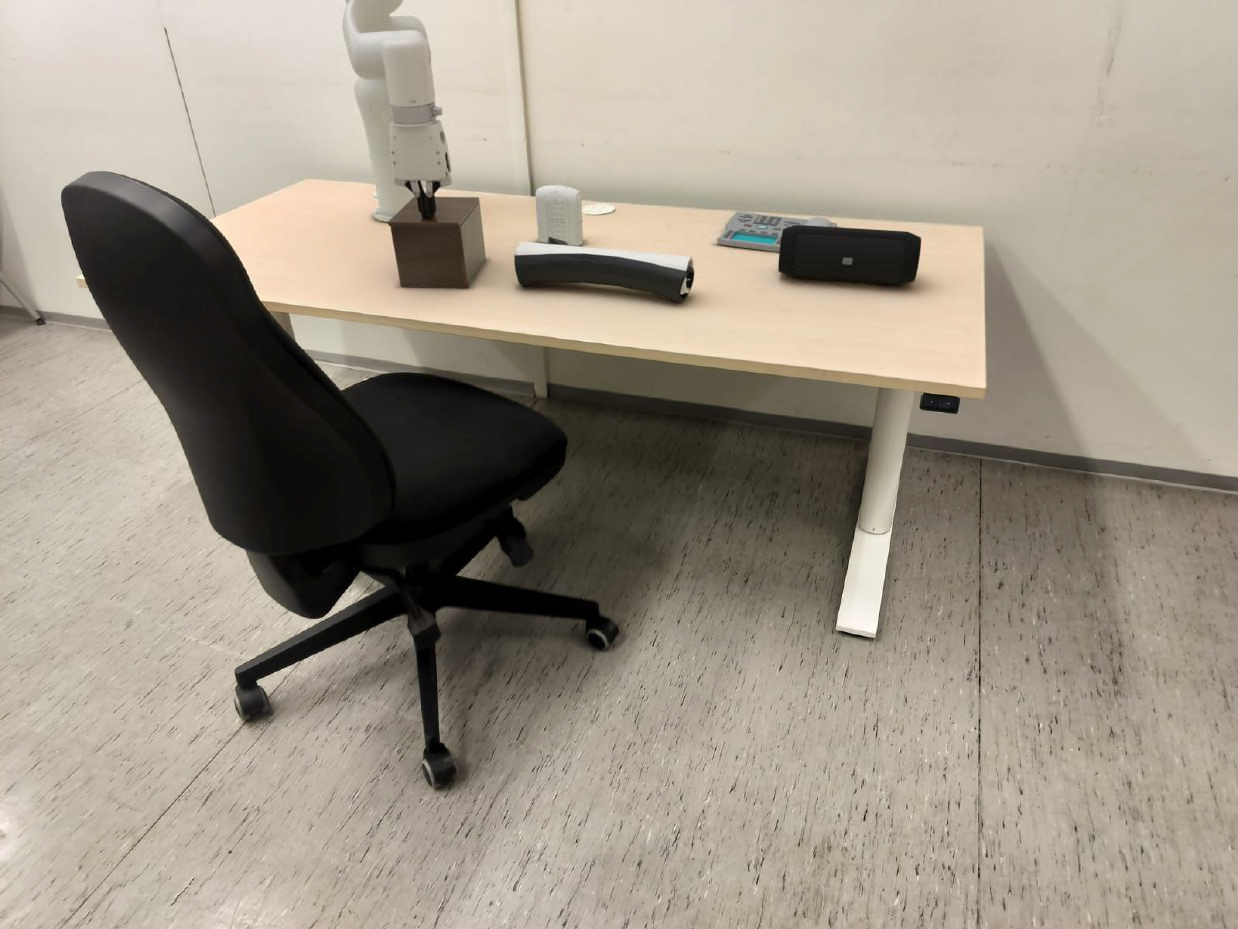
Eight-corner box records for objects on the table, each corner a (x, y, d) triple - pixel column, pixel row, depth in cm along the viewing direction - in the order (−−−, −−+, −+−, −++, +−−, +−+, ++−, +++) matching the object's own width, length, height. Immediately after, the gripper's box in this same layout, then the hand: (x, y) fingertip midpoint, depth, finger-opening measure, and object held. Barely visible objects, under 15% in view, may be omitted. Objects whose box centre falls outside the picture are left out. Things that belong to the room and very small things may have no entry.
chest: (468, 288, 166) (460, 226, 159) (400, 287, 168) (390, 225, 161) (486, 259, 179) (479, 201, 172) (423, 258, 180) (414, 200, 174)
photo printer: (586, 241, 187) (583, 184, 181) (579, 247, 184) (576, 190, 177) (542, 237, 190) (538, 181, 183) (535, 243, 187) (531, 186, 180)
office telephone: (838, 216, 190) (820, 245, 175) (836, 228, 192) (819, 258, 176) (737, 205, 198) (712, 232, 182) (736, 216, 199) (711, 244, 184)
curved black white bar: (691, 316, 161) (705, 254, 165) (685, 291, 152) (699, 226, 156) (520, 298, 170) (537, 240, 174) (505, 273, 161) (523, 212, 165)
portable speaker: (776, 284, 165) (780, 233, 159) (781, 265, 173) (785, 217, 167) (913, 294, 159) (923, 242, 154) (912, 275, 167) (921, 225, 162)
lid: (459, 226, 159) (458, 222, 158) (388, 226, 160) (387, 221, 160) (479, 201, 172) (479, 197, 172) (414, 200, 174) (413, 196, 173)
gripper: (459, 109, 154) (471, 210, 164) (379, 109, 155) (396, 209, 166) (448, 118, 148) (462, 223, 158) (365, 118, 149) (384, 222, 159)
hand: (428, 216), depth 162 cm, fingers closed
